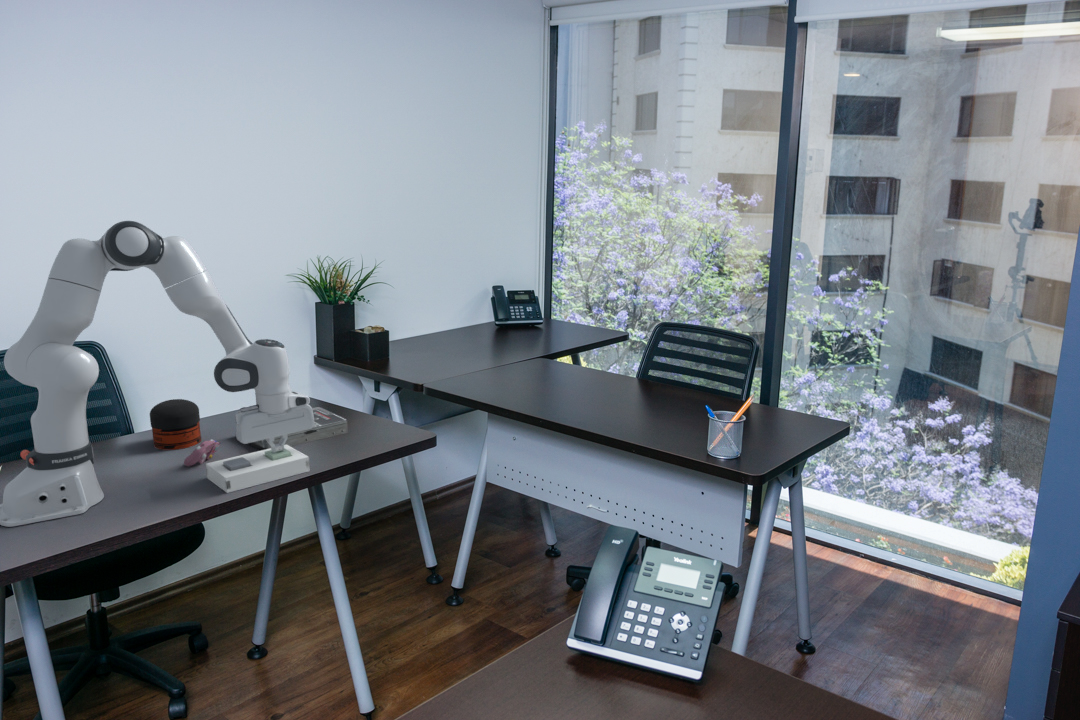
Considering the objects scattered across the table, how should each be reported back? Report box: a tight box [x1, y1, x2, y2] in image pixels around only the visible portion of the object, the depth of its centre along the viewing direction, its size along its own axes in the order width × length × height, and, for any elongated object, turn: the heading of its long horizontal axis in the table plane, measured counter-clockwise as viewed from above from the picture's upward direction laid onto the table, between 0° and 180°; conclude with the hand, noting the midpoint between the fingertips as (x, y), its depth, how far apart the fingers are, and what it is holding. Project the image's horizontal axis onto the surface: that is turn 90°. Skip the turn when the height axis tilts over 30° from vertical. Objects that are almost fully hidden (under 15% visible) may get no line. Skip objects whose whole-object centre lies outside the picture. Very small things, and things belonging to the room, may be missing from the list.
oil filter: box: [149, 398, 202, 451], centre depth 233 cm, size 13×12×13 cm
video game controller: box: [183, 439, 221, 467], centre depth 219 cm, size 10×5×7 cm, turn 169°
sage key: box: [265, 448, 291, 461], centre depth 213 cm, size 5×5×3 cm
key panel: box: [205, 445, 311, 494], centre depth 210 cm, size 22×13×4 cm, turn 132°
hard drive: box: [247, 406, 349, 451], centre depth 241 cm, size 18×27×4 cm
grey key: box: [223, 457, 251, 471], centre depth 206 cm, size 5×5×3 cm
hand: (277, 451), depth 213 cm, fingers closed, pressing on sage key
